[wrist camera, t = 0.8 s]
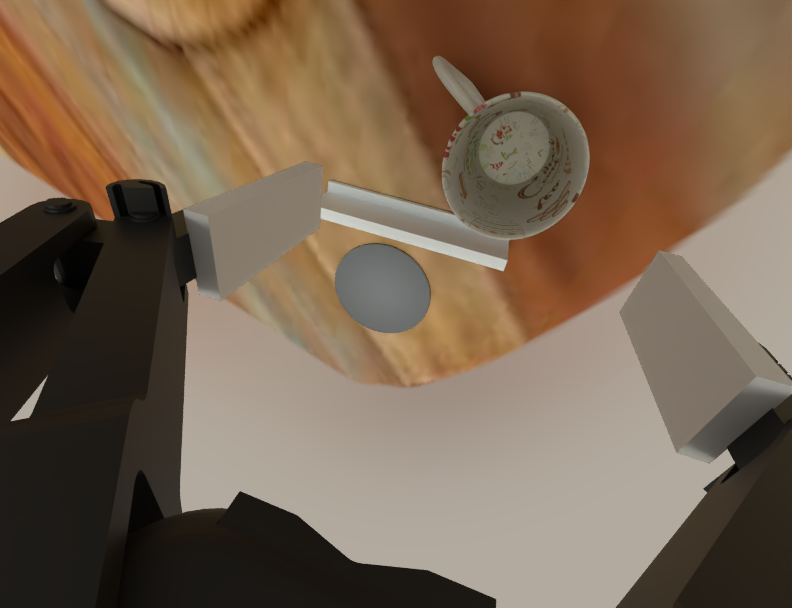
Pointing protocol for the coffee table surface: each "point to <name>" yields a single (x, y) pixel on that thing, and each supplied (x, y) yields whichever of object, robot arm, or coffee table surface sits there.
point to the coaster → (382, 288)
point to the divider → (410, 224)
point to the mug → (511, 160)
